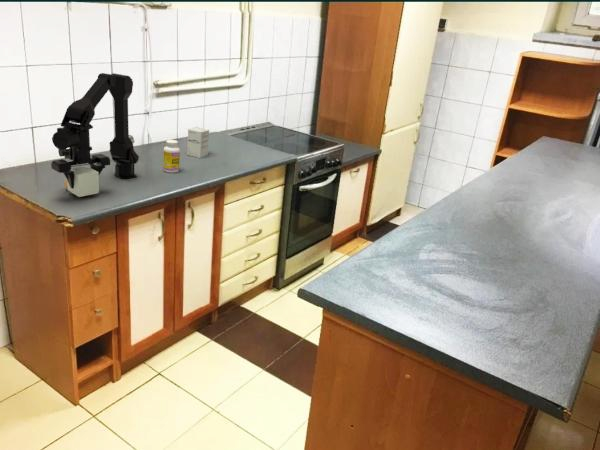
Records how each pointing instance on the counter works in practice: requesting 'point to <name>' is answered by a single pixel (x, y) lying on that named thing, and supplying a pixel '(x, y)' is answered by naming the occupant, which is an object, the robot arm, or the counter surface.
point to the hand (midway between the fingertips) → (82, 186)
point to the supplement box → (197, 142)
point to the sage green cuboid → (84, 181)
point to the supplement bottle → (171, 157)
